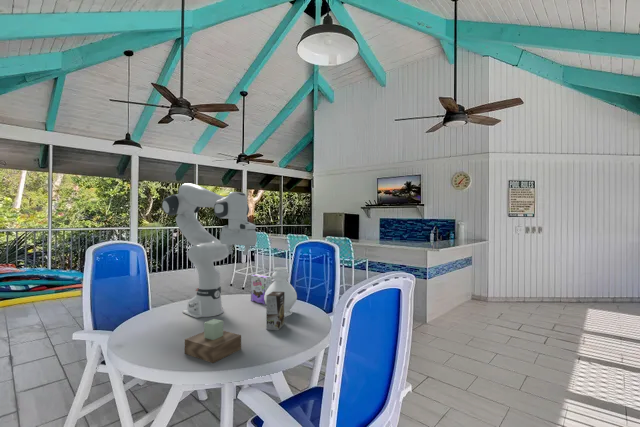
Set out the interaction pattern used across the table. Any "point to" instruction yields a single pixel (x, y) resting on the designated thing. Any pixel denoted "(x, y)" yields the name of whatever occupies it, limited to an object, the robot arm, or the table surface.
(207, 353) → the walnut block
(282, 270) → the decorative vase
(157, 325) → the table surface
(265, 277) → the candy box
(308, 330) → the table surface
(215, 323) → the sage block
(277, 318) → the coffee box
